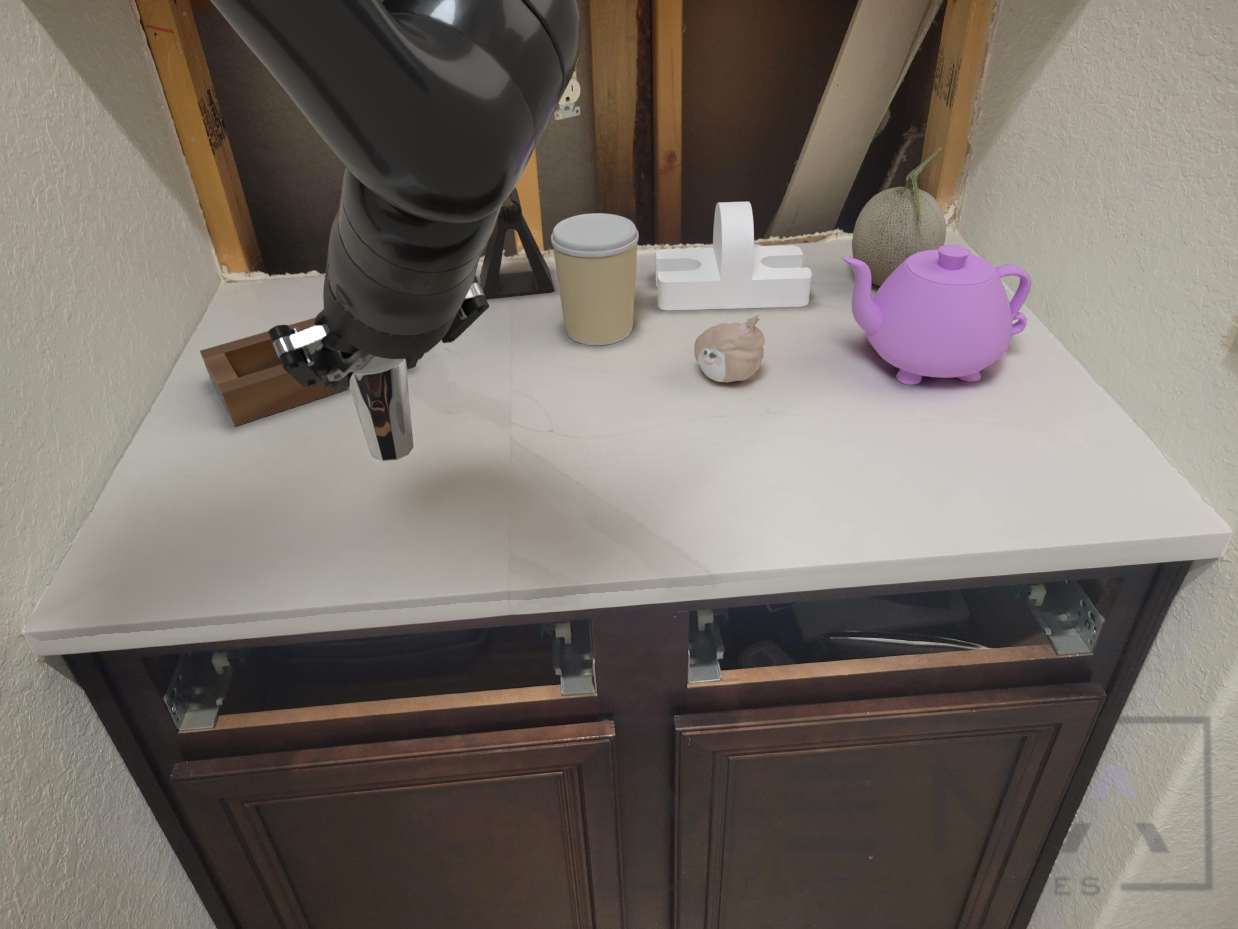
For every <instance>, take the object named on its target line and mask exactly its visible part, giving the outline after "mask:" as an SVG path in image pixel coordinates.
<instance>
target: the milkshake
mask: <svg viewBox="0 0 1238 929" xmlns="http://www.w3.org/2000/svg"><path fill="white" fill-rule="evenodd" d="M348 375H349V376H348V380H347V385H348V388H349V389H348V391H349V393H350V396H351V398H352V401H353V404H354V407H355V410H356V413H357V416H358V420H359V423H360V426H361V429H362V432H363V436H364V438H365V442H366V445H367V448H368V451H369V453H370V455H371V458H372V459H375V460H379V461H381V462H391V461H398V460H400V459H402V458H405V457H406V456H409V455H410V453H411V451H412V450H413V449H414V435H413V425H412V414H411V402H410V393H409V392H410V391H409V380H408V369H407V360H406V359H386V358H380V357H374V358H373V359H372V360H371V361H370V362H369V363H368V364H367V365H366V366H365V367H364V368H363V369H362V370H358V371H353V372H349V373H348Z"/></svg>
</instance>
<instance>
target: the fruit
mask: <svg viewBox="0 0 1238 929" xmlns="http://www.w3.org/2000/svg"><path fill="white" fill-rule="evenodd" d="M940 151H942V146H939V147H938V148H937V149H936V150H935V151H934V152H933V153H932V154H931V155H929V156H928V157H926V159H925V160H923V161H922V162H921V163H920V164H918V165H917V167H916V168H914V169H912V170H911V172H909V173H908V174H907V176H906V178H905V182H906V183H905V186H895V187H890V188H888V189H884V190H882V191H880V192H878V193H877V194H875V195H874V196H872V197H871V198H870V200H868V201H867V202H866V204H865V205H864V206H863V207H862V209H861V211H860V212H859V215H858V217H857V219H856V221H855V224H854V228H853V231H852V239H851V253H852V258H854V259H857V260H860V261H863V262H864V263H866V264H867V265H868V267H869V269H870V272H871V284H873V285H875V286H878V287H881V285H882V284H883V283H884V282H885V280H886V279H887V278H888V277H889V276H890V275H891V274H892V273H893V272H894V271H895V270H896V268H897V267H898V266H899V265H900V264H902V263H903V262H904V261H905V260H906V259H907V258H908V257H910V256H912V255H914V254H916V253H918V252H922V251H927V250H938V248H939V247H940V246H943V245H945V241H946V237H947V223H946V218H945V214H944V211H943V208H942V207H941V205H940V203H939V202H938V201H937V199H936V198H935V197H934V196H933V195H932V194H930V193H928V192H927V191H925V190H923V189H920V188H919V187H918V181H917V177H918V175H919V174H920V173H921V172H922V171H923V170H924V169H925V168H926V167H927V166H928V164H930V162H932V161H933V160H934V158H935V157H936V156H937V155H938V154H939V153H940Z"/></svg>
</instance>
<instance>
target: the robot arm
mask: <svg viewBox="0 0 1238 929" xmlns="http://www.w3.org/2000/svg"><path fill="white" fill-rule="evenodd" d="M209 1H210V2H211V4H212V5H213V6H214V7H215V8H216V9H217V11H218V12H219V13H220V14H221V15H222V17H223V18H224V19H225V20H226V22H227V23H228V25H230V27H231V28H232V30H234V31H235V33H236V34H237V35H238V37H240V39H241V40H242V41H243V42H244V43H245V45H246V46H247V47H248V48H249V49H250V50H251V52H252V53H253V54H254V55H255V56H256V57H257V59H258V60H259V61H260V62H261V64H263V67H265V68H266V69H267V71H268V72H269V73H270V75H271V76H272V77H273V78H274V79H275V81H276V82H277V83H278V85H279V87H281V88H282V90H284V92H285V93H286V95H287V96H288V97H289V98H290V99H291V101H292V102H293V104H294V105H295V106H296V107H297V109H298V110H299V112H300V113H301V114H302V115H303V117H304V118H305V119H306V120H307V122H308V123H309V124H310V126H311V127H312V129H313V130H314V131H315V132H316V134H318V136H319V137H320V139H322V141H323V143H324V144H325V145H326V146H327V147H328V149H329V150H330V151H331V152H332V153H333V154H334V156H336V158H337V159H338V160H339V161H340V162H341V164H342V165H343V166H344V172H343V176H342V184H341V192H340V200H339V208H338V210H337V212H336V214H335V216H334V218H333V222H332V225H331V228H330V232H329V233H330V234H329V240H328V248H327V256H326V264H325V273H324V281H323V292H322V296H323V297H322V299H323V300H322V302H323V309H322V310H321V311H320V312H319V313H317V314H316V316H315V317H314V318H315V320H314V326H313V327H310V328H308V329H305V330H302V331H301V330H300V328H298V327H296V328H293V329H292V330H291V328H290V327H289V326H288V325H289V324H278V325H275V326H273V327H271V328H270V329H269V330H267V331H268V334H269V336H270V338H271V341H272V343H273V346H274V348H275V350H276V352H277V355H278V357H279V359H280V362H281V364H282V366H283V368H284V370H285V371H286V372H287V373H288V374H289V375H291V376H292V377H293V378H294V379H295V380H296V381H297V382H298V383H300V384H301V385H302V386H303V387H308V386H309V387H311V386H314V385H316V384H317V383H318V382H320V381H322V384H323V386H324V388H326V389H329V388H333V390H334V392H335V393H336V392H339V391H342V390H345V388H346V384H347V380H348V376H349V375H348V373H349V372H353V371H358V370H362V369H363V368H364V367H365V366H366V365H367V364H368V363H369V362H370V361H371V360H372V359H373V358H374V357H380V358H386V359H406V360H407V370H410V369H414V368H416V366H417V364H418V362H419V360H421V359H422V358H423V357H424V355H425V354H427V353H429V352H430V351H431V350H432V349H434V348H435V347H436V346H437V345H438V344H439V343H440V342H442V344H451V343H453V342H455V340H457V339H458V338H459V337H460V336H461V335H462V334H463V333H464V332H465V331H467V329H468V328H469V327H471V326H472V324H474V323H475V322H476V321H477V320H478V319H479V318H480V317H481V316H482V315H483V314H484V313H485V312H486V311H487V310H488V309H489V308H490V304H489V302H488V299H486V297H485V295H484V293H483V291H482V288H481V283H480V282H479V279H478V277H477V275H476V274H477V271H478V265H479V262H480V260H481V257H482V255H483V253H484V251H485V250H486V248H487V244H488V241H489V239H490V237H491V235H492V232H493V230H494V227H495V225H496V221H497V218H498V215H499V212H500V209H501V206H502V207H503V204H505V203H506V201H507V199H508V198H509V197H510V194H511V192H512V191H513V189H514V188H516V186H517V184H518V182H519V180H520V179H521V177H522V175H523V173H524V170H525V168H526V167H527V165H528V163H529V161H530V159H531V158H532V155H533V152H534V151H535V148H536V147H537V144H538V143H539V141H540V139H541V137H542V135H543V133H544V131H545V130H546V128H547V126H548V124H549V122H550V120H551V118H552V116H553V114H554V112H555V111H556V109H557V107H558V105H559V103H560V101H561V99H562V98H563V95H564V94H565V91H566V90H567V87H568V85H569V84H570V81H571V79H572V77H573V75H574V73H575V70H576V68H577V64H578V59H579V55H580V49H581V37H582V36H581V34H582V32H581V20H580V12H579V7H578V3H577V0H209ZM504 202H505V203H504ZM315 349H316V350H315ZM345 391H346V390H345ZM342 392H343V391H342ZM339 393H340V392H339ZM336 394H337V393H336Z"/></svg>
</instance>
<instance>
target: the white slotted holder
mask: <svg viewBox="0 0 1238 929" xmlns="http://www.w3.org/2000/svg"><path fill="white" fill-rule="evenodd" d="M713 216H714V217H713V233H712V247H698V248H697V247H692V248H662V249H659V250H656V251H655V287H657V288H656V289H657V291H656V293H657V294H656V296H657V298H656V299H657V307H658V309H659V310H663V311H698V310H701V311H703V310H732V309H733V310H735V309H769V308H771V309H772V308H773V309H774V308H802V307H806V306H808V305H809V302H810V295H811V288H812V287H811V286H812V279H813V274H812V270H811V268H810V267H809V266H808V267H807V266H806V267H803V263H804V262H803V261H804V253H803V251H802V248H801V247H799V246H796V245H760V246H759V245H758V246H757V245H756V246H755V228H754V227H755V226H754V215H753V208H752V204H751V203H750V201H723V202H720V201H719V202H716V205H715V209H714V215H713Z"/></svg>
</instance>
